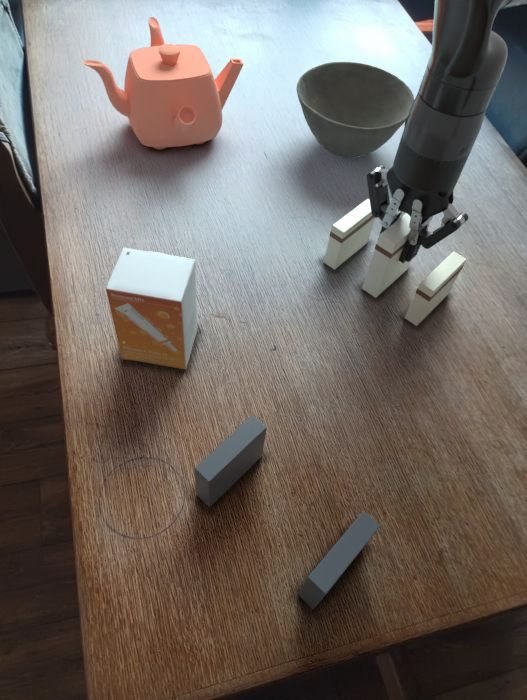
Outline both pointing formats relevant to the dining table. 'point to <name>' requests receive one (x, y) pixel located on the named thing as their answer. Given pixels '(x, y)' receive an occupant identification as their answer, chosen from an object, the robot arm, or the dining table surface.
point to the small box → (154, 307)
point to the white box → (388, 257)
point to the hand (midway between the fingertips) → (394, 252)
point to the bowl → (353, 106)
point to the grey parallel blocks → (240, 457)
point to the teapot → (170, 92)
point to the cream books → (355, 235)
